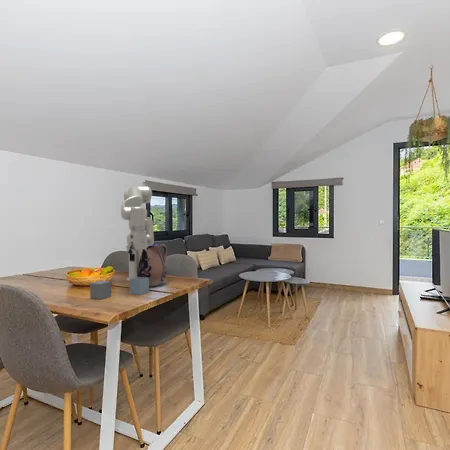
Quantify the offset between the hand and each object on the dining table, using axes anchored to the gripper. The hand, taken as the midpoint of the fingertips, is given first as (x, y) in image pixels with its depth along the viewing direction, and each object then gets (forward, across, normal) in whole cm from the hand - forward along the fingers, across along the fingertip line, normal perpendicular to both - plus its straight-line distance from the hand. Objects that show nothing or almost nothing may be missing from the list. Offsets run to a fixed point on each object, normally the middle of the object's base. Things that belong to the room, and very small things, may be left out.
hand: (138, 260), depth 170 cm
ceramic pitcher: (+18, +20, +6) cm, 28 cm away
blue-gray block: (+18, 0, 0) cm, 18 cm away
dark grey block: (+18, -16, +12) cm, 27 cm away
